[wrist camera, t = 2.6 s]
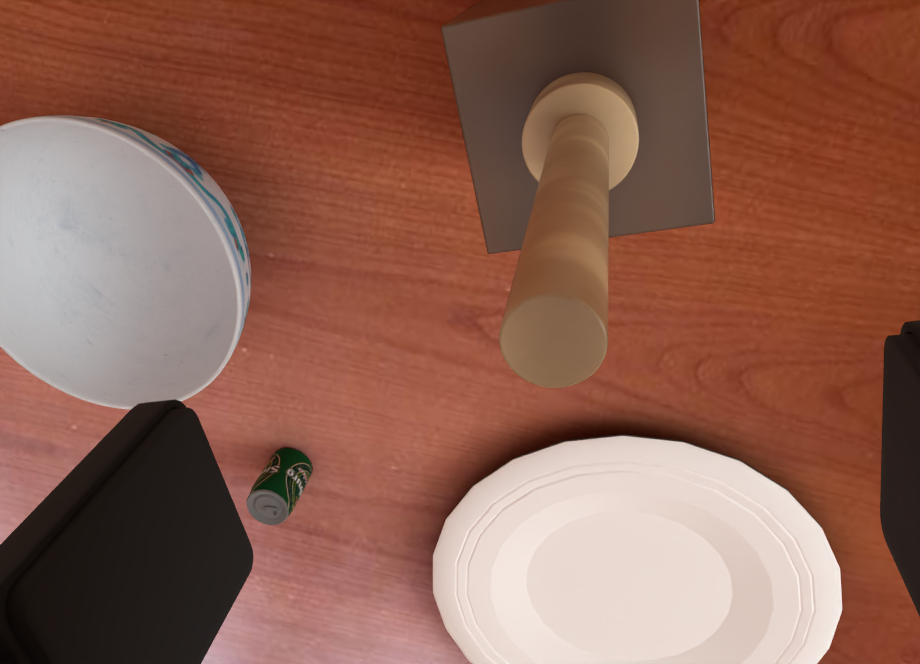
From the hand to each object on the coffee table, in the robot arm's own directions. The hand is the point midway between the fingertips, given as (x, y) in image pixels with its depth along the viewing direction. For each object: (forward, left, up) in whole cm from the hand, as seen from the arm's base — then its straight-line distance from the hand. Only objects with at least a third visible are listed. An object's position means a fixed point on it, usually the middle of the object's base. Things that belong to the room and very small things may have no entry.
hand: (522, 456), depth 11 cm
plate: (+2, +32, -30) cm, 44 cm away
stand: (0, 0, -30) cm, 30 cm away
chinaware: (+24, +4, -30) cm, 39 cm away
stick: (0, 0, -18) cm, 18 cm away
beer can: (+22, +21, -30) cm, 43 cm away
